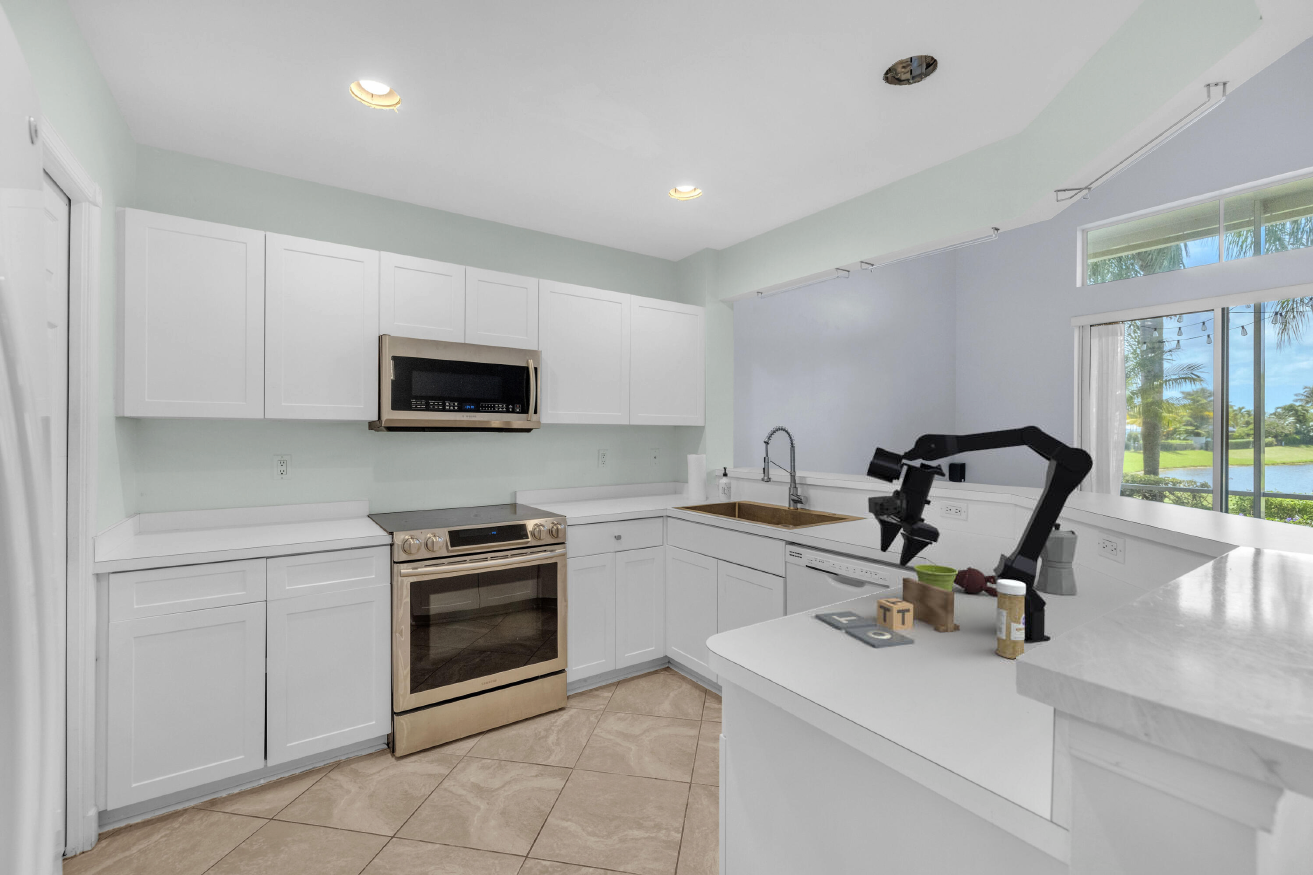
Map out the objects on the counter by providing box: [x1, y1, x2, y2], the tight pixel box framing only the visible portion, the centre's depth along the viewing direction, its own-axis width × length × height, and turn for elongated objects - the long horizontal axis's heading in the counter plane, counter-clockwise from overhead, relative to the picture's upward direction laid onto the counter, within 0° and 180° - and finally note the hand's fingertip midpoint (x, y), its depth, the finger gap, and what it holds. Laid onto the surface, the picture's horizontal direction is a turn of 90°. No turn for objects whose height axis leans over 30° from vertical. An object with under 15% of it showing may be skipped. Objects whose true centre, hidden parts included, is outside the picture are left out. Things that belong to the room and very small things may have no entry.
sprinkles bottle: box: [995, 579, 1026, 660], centre depth 105 cm, size 5×5×14 cm
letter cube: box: [876, 598, 914, 631], centre depth 122 cm, size 5×5×5 cm
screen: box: [901, 577, 961, 633], centre depth 124 cm, size 13×5×8 cm, turn 18°
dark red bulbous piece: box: [953, 566, 998, 598], centre depth 150 cm, size 7×7×15 cm
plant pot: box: [913, 564, 958, 592], centre depth 138 cm, size 9×9×9 cm
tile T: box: [814, 610, 878, 631], centre depth 124 cm, size 9×9×1 cm
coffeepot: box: [1035, 522, 1078, 597], centre depth 153 cm, size 15×9×18 cm, turn 118°
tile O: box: [844, 625, 915, 649], centre depth 114 cm, size 9×9×1 cm
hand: (892, 558), depth 126 cm, fingers open, 9 cm apart
